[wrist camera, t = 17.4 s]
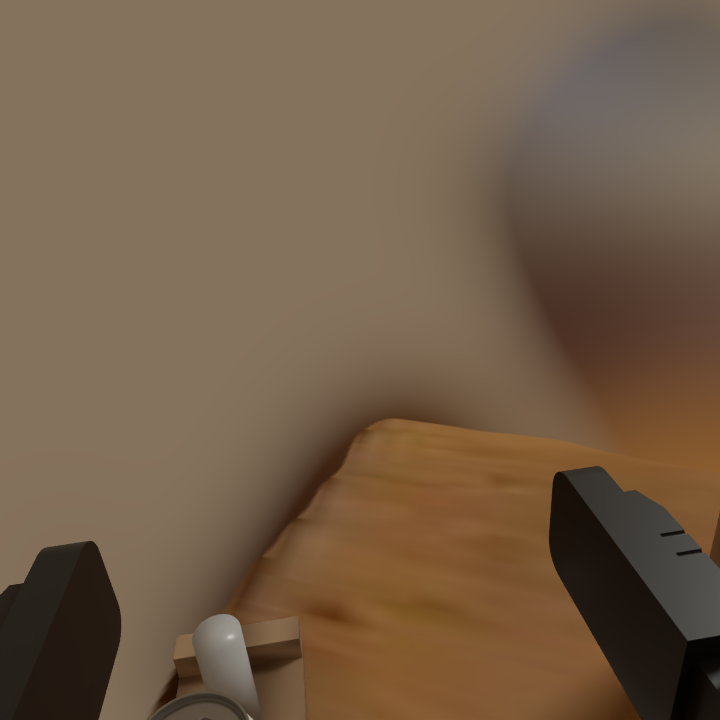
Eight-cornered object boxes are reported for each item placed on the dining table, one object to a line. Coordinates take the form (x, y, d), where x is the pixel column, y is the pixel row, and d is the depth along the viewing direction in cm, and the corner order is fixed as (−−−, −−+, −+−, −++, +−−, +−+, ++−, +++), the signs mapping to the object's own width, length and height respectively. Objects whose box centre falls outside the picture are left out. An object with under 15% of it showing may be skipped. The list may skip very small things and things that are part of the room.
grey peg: (261, 692, 42) (242, 610, 38) (260, 734, 39) (239, 651, 35) (218, 699, 41) (195, 618, 38) (214, 742, 39) (188, 659, 35)
